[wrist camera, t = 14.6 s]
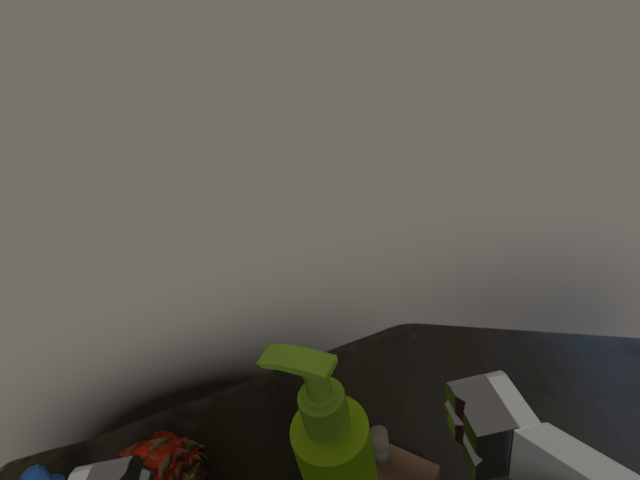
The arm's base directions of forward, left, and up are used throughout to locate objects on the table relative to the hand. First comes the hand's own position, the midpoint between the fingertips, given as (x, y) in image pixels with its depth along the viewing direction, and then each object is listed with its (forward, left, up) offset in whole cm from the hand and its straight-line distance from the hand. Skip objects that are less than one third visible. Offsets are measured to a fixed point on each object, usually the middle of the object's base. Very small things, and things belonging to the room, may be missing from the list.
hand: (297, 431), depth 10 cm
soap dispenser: (-9, -8, -30) cm, 32 cm away
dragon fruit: (-2, -27, -32) cm, 42 cm away
